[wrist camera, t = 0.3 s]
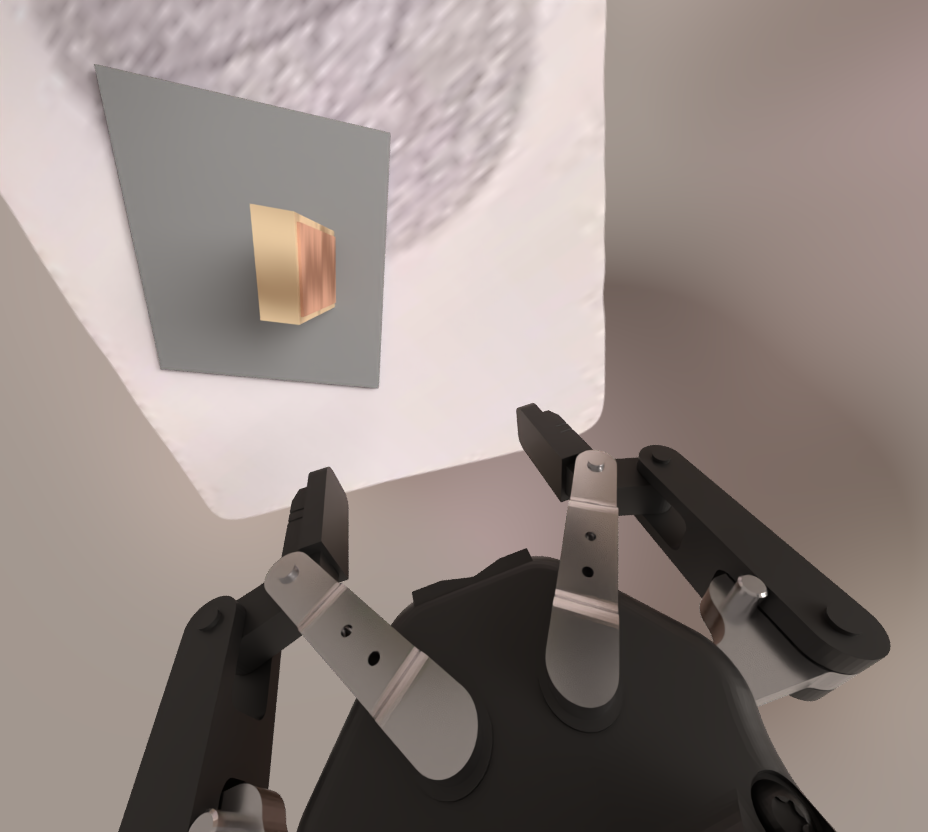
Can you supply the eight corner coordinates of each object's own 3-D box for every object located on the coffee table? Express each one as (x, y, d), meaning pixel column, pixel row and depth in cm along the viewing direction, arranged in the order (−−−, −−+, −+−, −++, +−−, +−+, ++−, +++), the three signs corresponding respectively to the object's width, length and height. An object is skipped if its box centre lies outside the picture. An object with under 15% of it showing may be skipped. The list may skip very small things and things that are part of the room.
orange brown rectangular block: (306, 226, 31) (249, 203, 20) (336, 231, 31) (297, 211, 21) (309, 303, 34) (260, 320, 23) (336, 307, 34) (302, 325, 23)
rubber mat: (102, 69, 26) (93, 63, 25) (390, 136, 30) (389, 132, 29) (166, 367, 35) (161, 369, 34) (378, 386, 39) (378, 388, 38)
